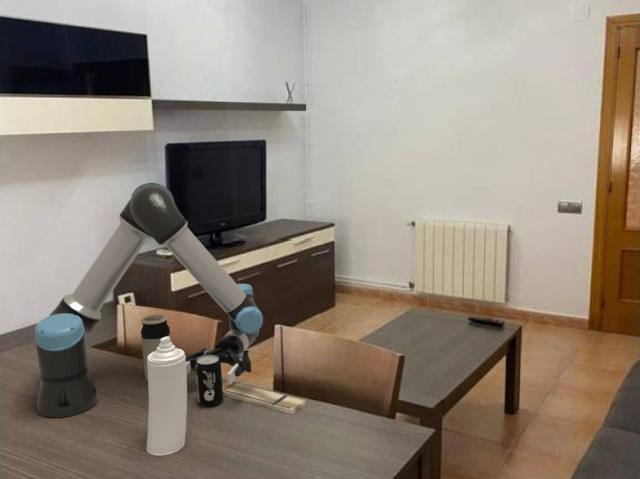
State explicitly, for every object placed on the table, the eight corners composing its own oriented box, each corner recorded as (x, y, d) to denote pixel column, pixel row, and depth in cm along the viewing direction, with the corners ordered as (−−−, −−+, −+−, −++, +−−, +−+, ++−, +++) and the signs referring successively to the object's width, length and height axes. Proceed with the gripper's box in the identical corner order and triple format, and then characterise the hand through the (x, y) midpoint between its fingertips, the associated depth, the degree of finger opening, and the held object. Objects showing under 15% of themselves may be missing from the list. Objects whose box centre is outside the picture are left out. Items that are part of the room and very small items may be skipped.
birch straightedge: (292, 414, 155) (292, 409, 154) (202, 390, 170) (202, 385, 170) (305, 404, 160) (305, 400, 159) (216, 381, 175) (216, 377, 175)
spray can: (143, 434, 147) (134, 335, 142) (188, 425, 151) (180, 328, 146) (148, 459, 136) (138, 352, 131) (196, 448, 140) (188, 344, 135)
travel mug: (139, 378, 179) (134, 319, 175) (162, 369, 185) (157, 312, 181) (156, 385, 174) (150, 325, 170) (179, 376, 180) (174, 317, 176)
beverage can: (228, 401, 163) (225, 358, 161) (208, 410, 158) (205, 366, 156) (213, 394, 167) (210, 352, 165) (192, 402, 163) (189, 360, 160)
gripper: (274, 361, 177) (251, 394, 156) (192, 357, 182) (159, 388, 161) (272, 336, 175) (249, 366, 155) (190, 332, 180) (157, 361, 160)
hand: (203, 377), depth 158 cm, fingers open, 13 cm apart
